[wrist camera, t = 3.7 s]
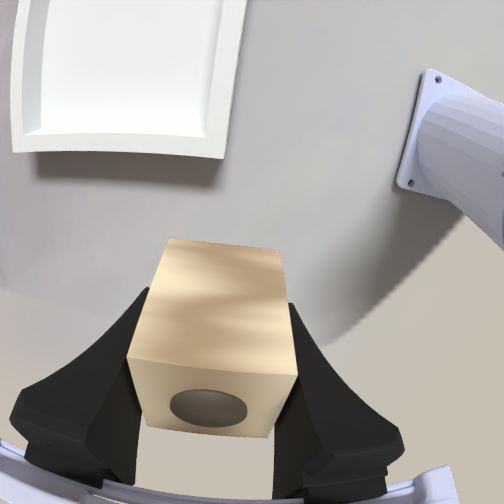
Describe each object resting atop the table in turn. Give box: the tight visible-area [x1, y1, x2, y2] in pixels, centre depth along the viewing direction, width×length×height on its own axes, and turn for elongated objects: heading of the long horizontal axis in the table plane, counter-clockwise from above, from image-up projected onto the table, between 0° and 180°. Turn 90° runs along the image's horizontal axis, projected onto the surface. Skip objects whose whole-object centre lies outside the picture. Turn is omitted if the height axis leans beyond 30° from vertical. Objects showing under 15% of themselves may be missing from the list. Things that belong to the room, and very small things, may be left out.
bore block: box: [127, 238, 298, 438], centre depth 11 cm, size 4×4×6 cm
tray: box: [10, 0, 248, 159], centre depth 12 cm, size 13×13×2 cm
